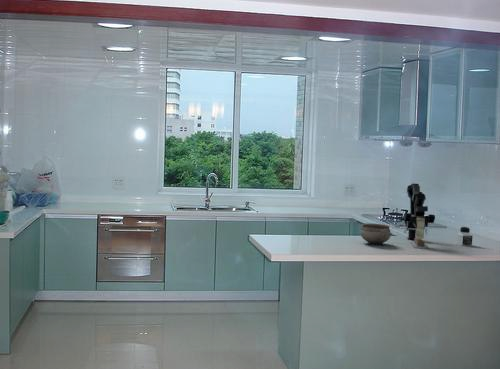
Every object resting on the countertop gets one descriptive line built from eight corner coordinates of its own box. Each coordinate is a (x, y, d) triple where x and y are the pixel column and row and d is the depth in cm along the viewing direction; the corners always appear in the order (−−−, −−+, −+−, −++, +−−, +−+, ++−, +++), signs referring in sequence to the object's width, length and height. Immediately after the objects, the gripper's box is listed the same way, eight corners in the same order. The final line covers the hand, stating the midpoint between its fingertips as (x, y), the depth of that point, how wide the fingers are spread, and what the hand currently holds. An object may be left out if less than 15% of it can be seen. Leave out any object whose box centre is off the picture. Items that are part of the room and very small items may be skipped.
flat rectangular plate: (409, 243, 396) (410, 237, 396) (423, 244, 395) (424, 238, 395) (413, 248, 376) (414, 241, 376) (428, 248, 375) (429, 242, 375)
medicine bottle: (462, 245, 395) (463, 227, 394) (456, 244, 402) (457, 226, 401) (472, 245, 397) (473, 227, 396) (465, 244, 404) (467, 226, 403)
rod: (415, 237, 388) (416, 217, 387) (422, 237, 387) (423, 217, 386) (416, 238, 383) (417, 218, 382) (423, 238, 383) (424, 218, 382)
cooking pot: (350, 242, 390) (351, 223, 389) (369, 240, 402) (370, 222, 401) (381, 248, 370) (382, 228, 370) (400, 245, 383) (401, 226, 382)
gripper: (405, 200, 389) (407, 219, 379) (435, 202, 387) (437, 221, 376) (403, 211, 397) (404, 230, 387) (432, 213, 395) (434, 232, 385)
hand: (420, 228), depth 384 cm, fingers closed on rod, 4 cm apart
